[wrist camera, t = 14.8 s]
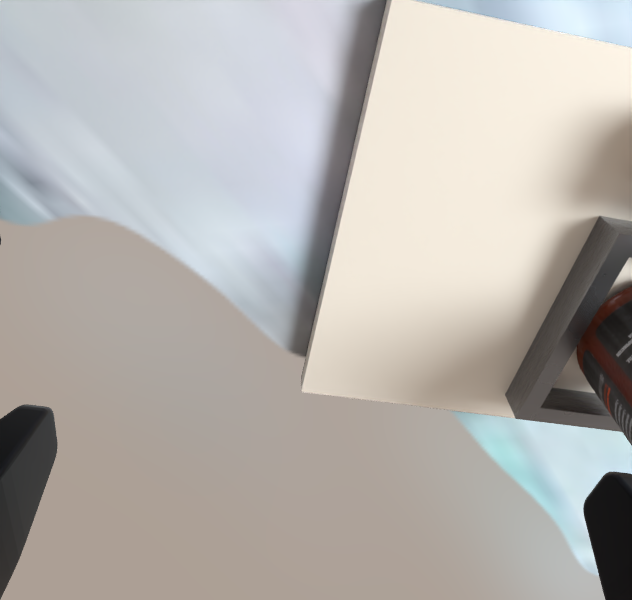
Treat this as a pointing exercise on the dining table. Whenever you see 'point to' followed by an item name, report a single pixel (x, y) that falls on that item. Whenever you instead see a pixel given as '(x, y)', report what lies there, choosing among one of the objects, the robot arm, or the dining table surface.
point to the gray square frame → (571, 334)
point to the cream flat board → (468, 206)
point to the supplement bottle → (611, 358)
